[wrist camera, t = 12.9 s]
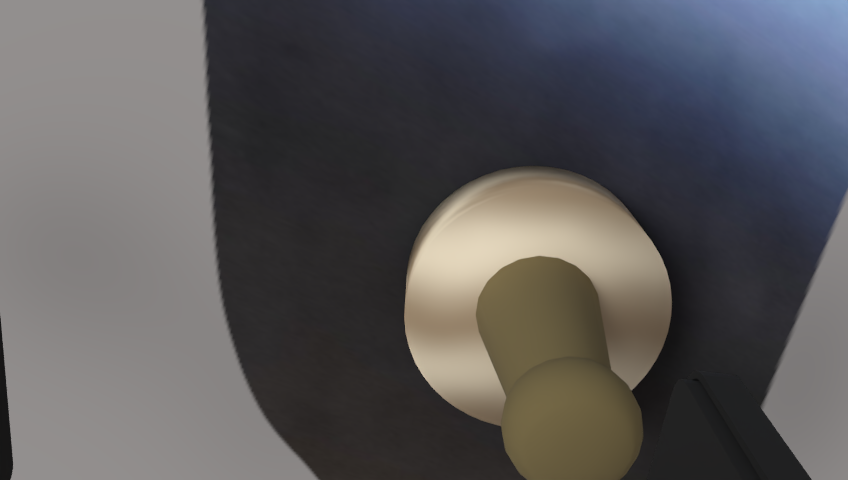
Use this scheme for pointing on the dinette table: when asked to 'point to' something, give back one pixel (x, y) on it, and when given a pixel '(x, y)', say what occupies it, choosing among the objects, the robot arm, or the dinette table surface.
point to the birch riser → (522, 238)
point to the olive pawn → (557, 374)
